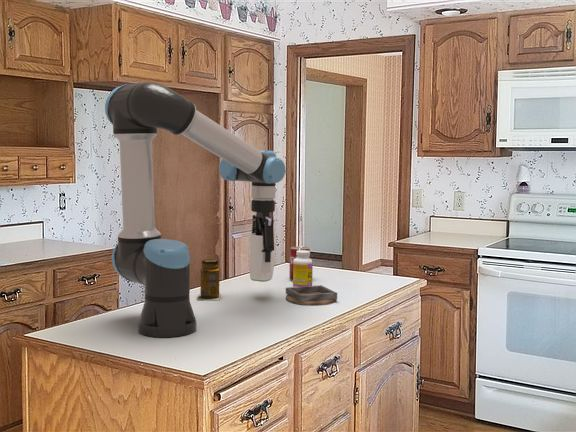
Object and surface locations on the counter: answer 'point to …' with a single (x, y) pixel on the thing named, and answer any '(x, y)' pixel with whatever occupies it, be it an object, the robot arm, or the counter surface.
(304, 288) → the dark brown tray
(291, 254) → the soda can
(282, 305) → the counter surface
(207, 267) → the condiment
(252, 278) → the cup
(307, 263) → the supplement bottle
